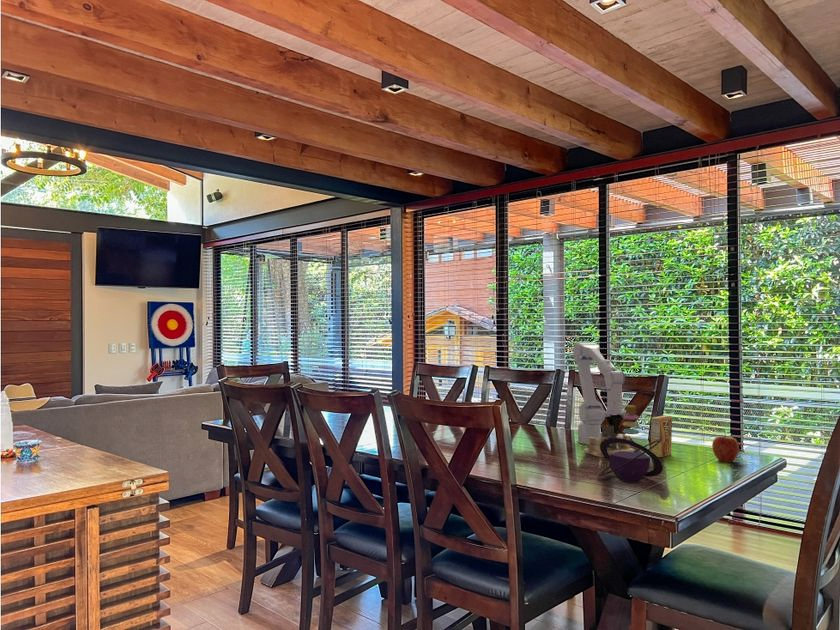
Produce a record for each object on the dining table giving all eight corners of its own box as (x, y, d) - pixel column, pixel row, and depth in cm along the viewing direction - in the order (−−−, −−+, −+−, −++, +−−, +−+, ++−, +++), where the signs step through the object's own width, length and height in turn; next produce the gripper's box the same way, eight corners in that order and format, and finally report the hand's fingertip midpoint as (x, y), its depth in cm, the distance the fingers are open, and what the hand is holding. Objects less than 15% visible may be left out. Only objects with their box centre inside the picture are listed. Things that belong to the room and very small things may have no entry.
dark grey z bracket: (602, 446, 253) (602, 424, 253) (605, 446, 254) (605, 424, 254) (613, 449, 248) (613, 426, 248) (616, 448, 249) (616, 426, 249)
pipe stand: (583, 452, 251) (583, 436, 251) (616, 448, 260) (616, 432, 260) (601, 457, 242) (601, 440, 243) (634, 453, 251) (634, 436, 251)
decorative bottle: (677, 482, 206) (677, 406, 206) (647, 493, 191) (648, 412, 192) (614, 469, 222) (615, 399, 222) (583, 480, 207) (583, 404, 208)
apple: (711, 462, 236) (711, 435, 236) (712, 457, 244) (712, 432, 244) (738, 465, 232) (738, 438, 232) (738, 460, 240) (738, 434, 240)
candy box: (662, 453, 251) (662, 415, 251) (672, 455, 248) (672, 416, 248) (650, 456, 246) (650, 417, 246) (660, 458, 242) (660, 418, 243)
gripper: (608, 402, 246) (608, 436, 246) (634, 400, 253) (634, 434, 252) (595, 400, 252) (595, 433, 252) (621, 398, 259) (621, 431, 259)
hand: (614, 433), depth 253 cm, fingers closed
